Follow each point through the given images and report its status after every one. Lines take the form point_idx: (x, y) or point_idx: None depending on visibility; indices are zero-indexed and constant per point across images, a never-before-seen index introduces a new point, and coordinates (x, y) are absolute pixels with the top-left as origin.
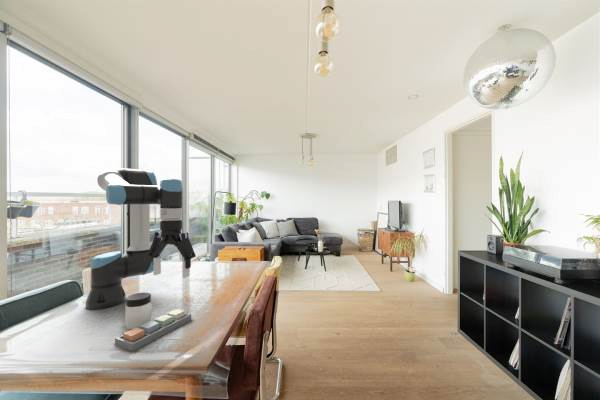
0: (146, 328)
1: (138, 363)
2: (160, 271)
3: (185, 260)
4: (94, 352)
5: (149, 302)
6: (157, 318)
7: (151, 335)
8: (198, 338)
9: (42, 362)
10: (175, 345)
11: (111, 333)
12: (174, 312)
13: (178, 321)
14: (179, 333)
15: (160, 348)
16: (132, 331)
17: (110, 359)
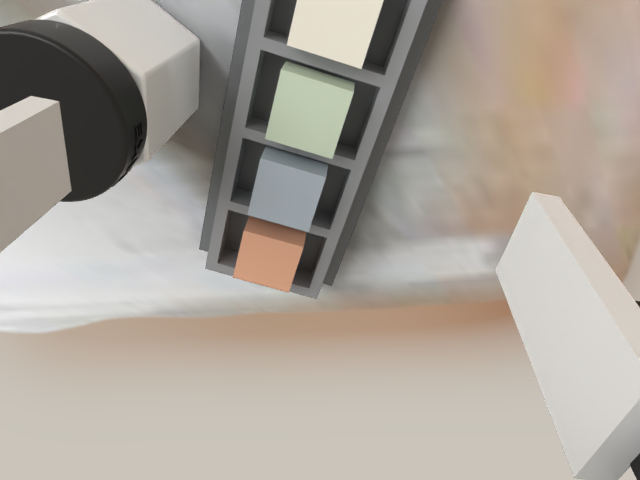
0: (297, 226)
1: (372, 300)
2: (42, 115)
3: (627, 456)
4: (162, 261)
5: (139, 90)
6: (275, 127)
7: (340, 231)
8: (539, 134)
9: (64, 312)
10: (448, 198)
11: None
12: (327, 27)
13: (395, 84)
14: (413, 97)
15: (394, 222)
16: (258, 260)
17: (259, 289)
